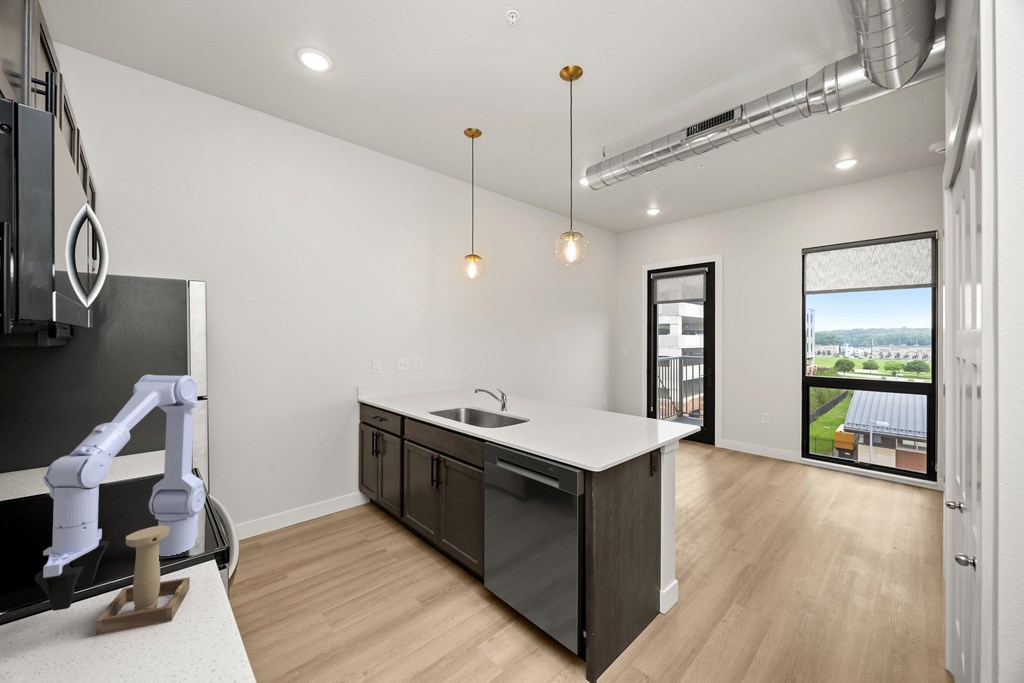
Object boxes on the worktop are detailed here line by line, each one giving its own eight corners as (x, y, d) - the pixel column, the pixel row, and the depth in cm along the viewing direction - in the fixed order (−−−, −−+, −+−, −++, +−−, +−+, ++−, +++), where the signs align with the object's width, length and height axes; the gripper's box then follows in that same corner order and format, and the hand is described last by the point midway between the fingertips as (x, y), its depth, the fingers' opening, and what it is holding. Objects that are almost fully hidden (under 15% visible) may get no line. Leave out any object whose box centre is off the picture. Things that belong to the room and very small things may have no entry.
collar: (122, 600, 84) (123, 585, 84) (189, 589, 88) (189, 574, 88) (95, 635, 74) (95, 617, 74) (171, 620, 78) (172, 604, 78)
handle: (118, 616, 79) (120, 536, 79) (159, 598, 85) (161, 523, 85) (131, 624, 77) (133, 542, 77) (172, 605, 83) (174, 528, 83)
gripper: (69, 509, 82) (67, 579, 82) (18, 542, 69) (16, 626, 68) (116, 505, 85) (114, 572, 85) (76, 535, 71) (74, 616, 71)
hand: (73, 596), depth 77 cm, fingers open, 7 cm apart
